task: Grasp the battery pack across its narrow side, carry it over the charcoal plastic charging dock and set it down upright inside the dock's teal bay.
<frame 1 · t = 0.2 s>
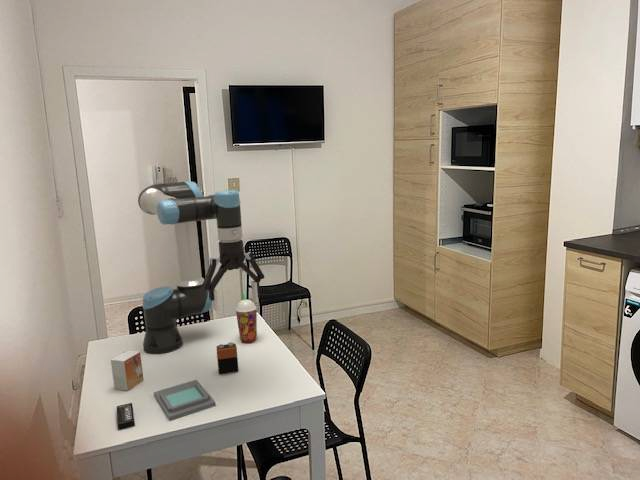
hand: (236, 305, 154), 27 cm above the table, fingers open, 13 cm apart
battery: (228, 371, 168), on the table
dock: (184, 400, 149), on the table
small box: (129, 385, 161), on the table
smoothie: (248, 340, 195), on the table
multiport hub: (126, 420, 140), on the table
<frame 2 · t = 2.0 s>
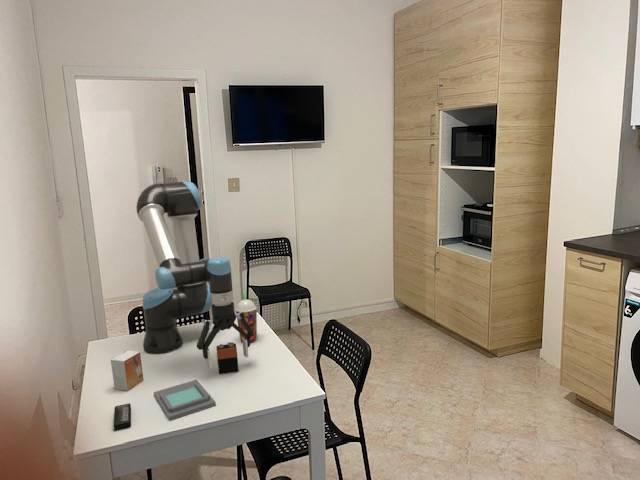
hand: (228, 361, 167), 4 cm above the table, fingers open, 13 cm apart
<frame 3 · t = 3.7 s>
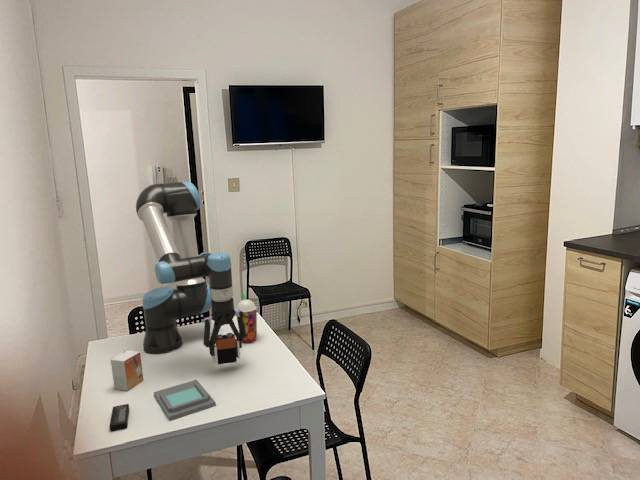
hand: (226, 360, 168), 4 cm above the table, fingers closed on battery, 8 cm apart
battery: (226, 361, 168), point 3 cm above the table, touching gripper
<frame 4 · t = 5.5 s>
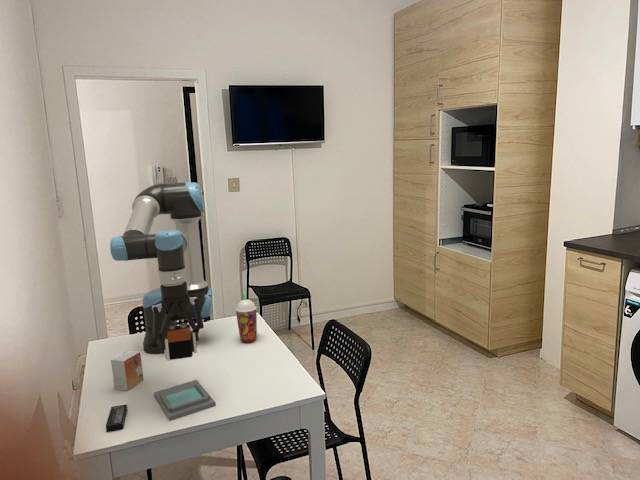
hand: (181, 355, 146), 15 cm above the table, fingers closed on battery, 8 cm apart
battery: (181, 356, 146), point 15 cm above the table, touching gripper
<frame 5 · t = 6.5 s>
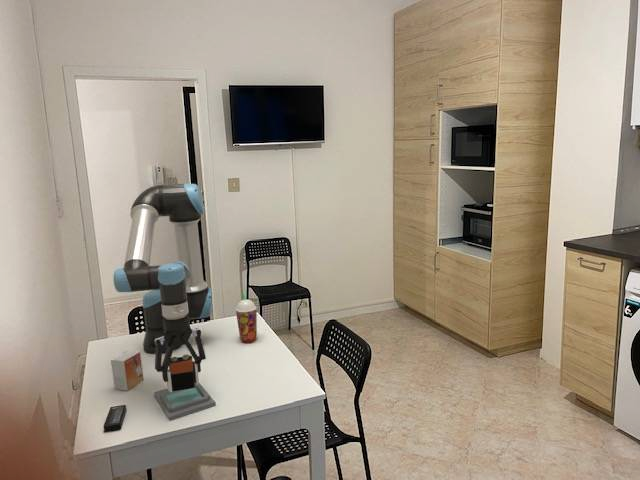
hand: (183, 386, 147), 5 cm above the table, fingers closed on battery, 8 cm apart
battery: (183, 387, 147), point 5 cm above the table, touching gripper
when the fingers open (3 cm above the table, at t = 7.3 s): battery drops 1 cm, resting on dock.
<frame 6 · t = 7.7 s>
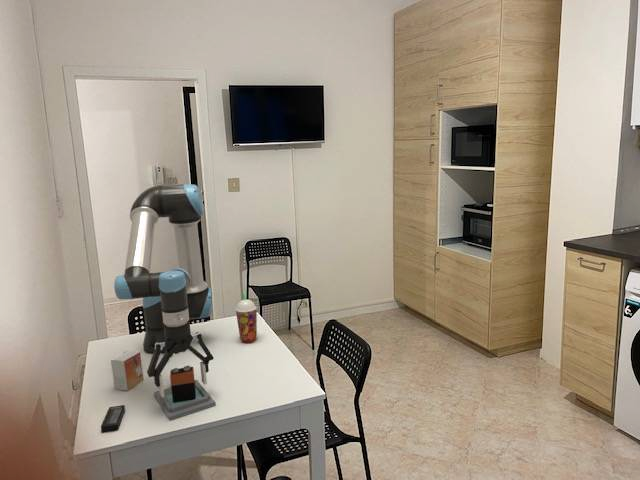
hand: (183, 388, 147), 4 cm above the table, fingers open, 12 cm apart
battery: (184, 398, 148), point 1 cm above the table, touching dock
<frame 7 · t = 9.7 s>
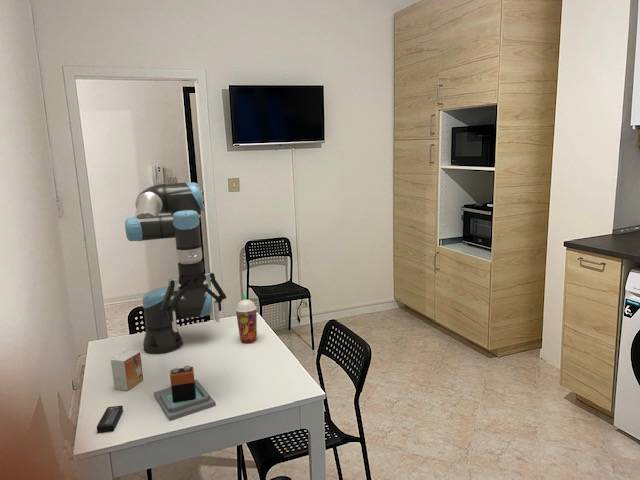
hand: (196, 325, 152), 22 cm above the table, fingers open, 13 cm apart
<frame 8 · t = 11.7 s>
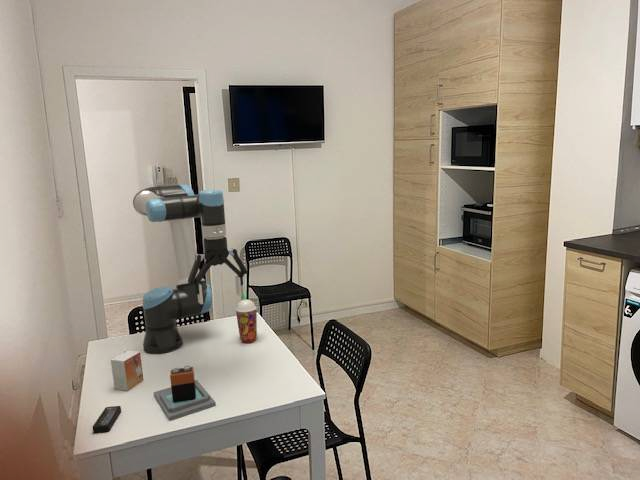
hand: (220, 299, 162), 27 cm above the table, fingers open, 13 cm apart
at the end: battery inside the target area on the dock (0.1 cm from its centre), point 1.0 cm above the dock's base; battery tilted 0°; the gripper is holding nothing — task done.
